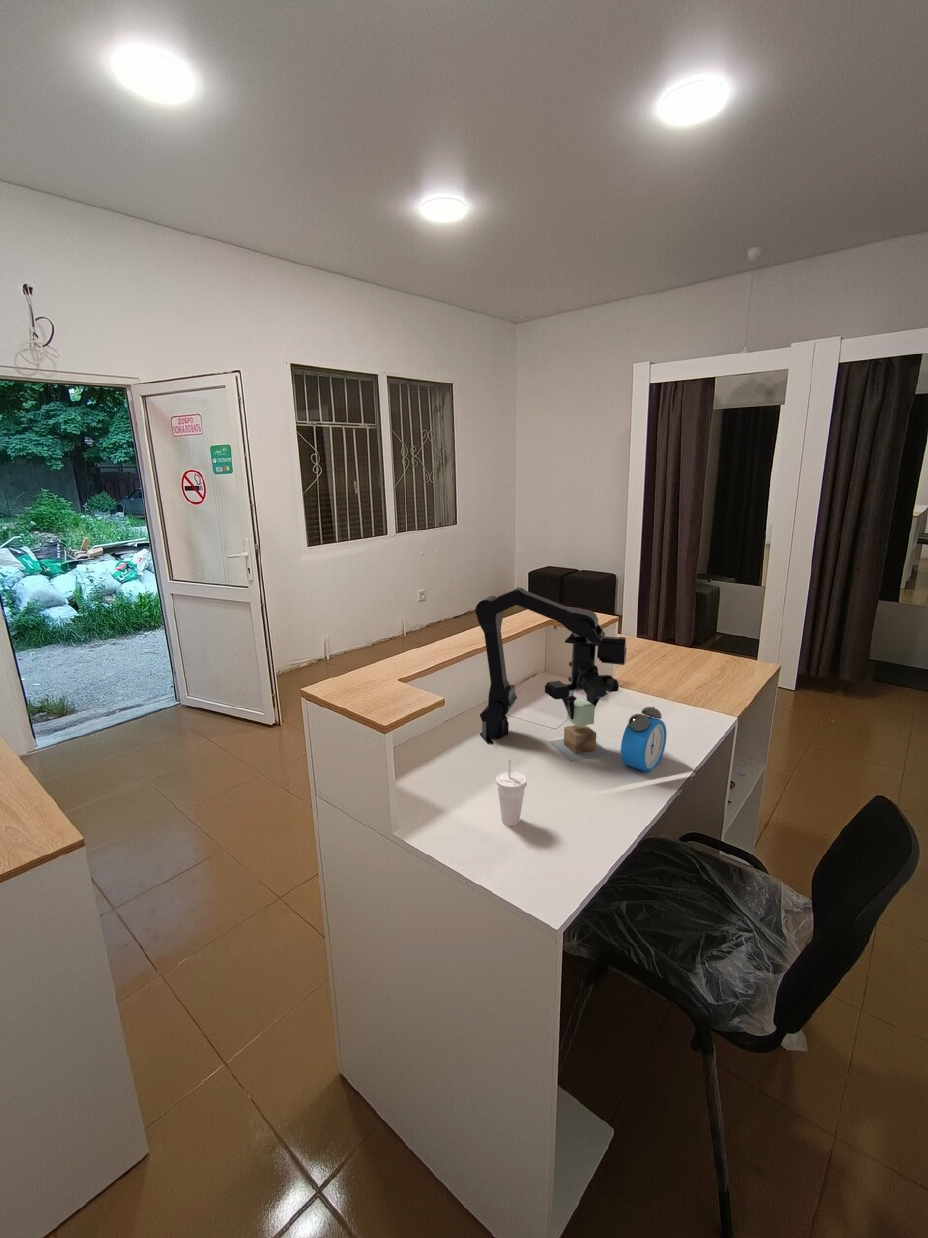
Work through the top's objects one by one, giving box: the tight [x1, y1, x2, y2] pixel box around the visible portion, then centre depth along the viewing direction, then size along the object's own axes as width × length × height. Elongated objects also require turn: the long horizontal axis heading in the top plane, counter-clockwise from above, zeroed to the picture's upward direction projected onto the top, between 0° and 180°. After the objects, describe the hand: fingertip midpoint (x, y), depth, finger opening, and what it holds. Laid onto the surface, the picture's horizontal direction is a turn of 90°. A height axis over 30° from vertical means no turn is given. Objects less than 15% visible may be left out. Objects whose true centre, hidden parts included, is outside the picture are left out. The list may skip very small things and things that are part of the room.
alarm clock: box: [620, 706, 667, 773], centre depth 138 cm, size 13×6×15 cm, turn 137°
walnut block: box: [563, 724, 597, 754], centre depth 148 cm, size 6×6×5 cm
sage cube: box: [566, 698, 596, 726], centre depth 146 cm, size 5×5×5 cm
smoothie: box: [495, 757, 528, 827], centre depth 116 cm, size 6×6×14 cm
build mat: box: [548, 738, 612, 762], centre depth 149 cm, size 12×12×1 cm
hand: (580, 717), depth 146 cm, fingers closed on sage cube, 5 cm apart
